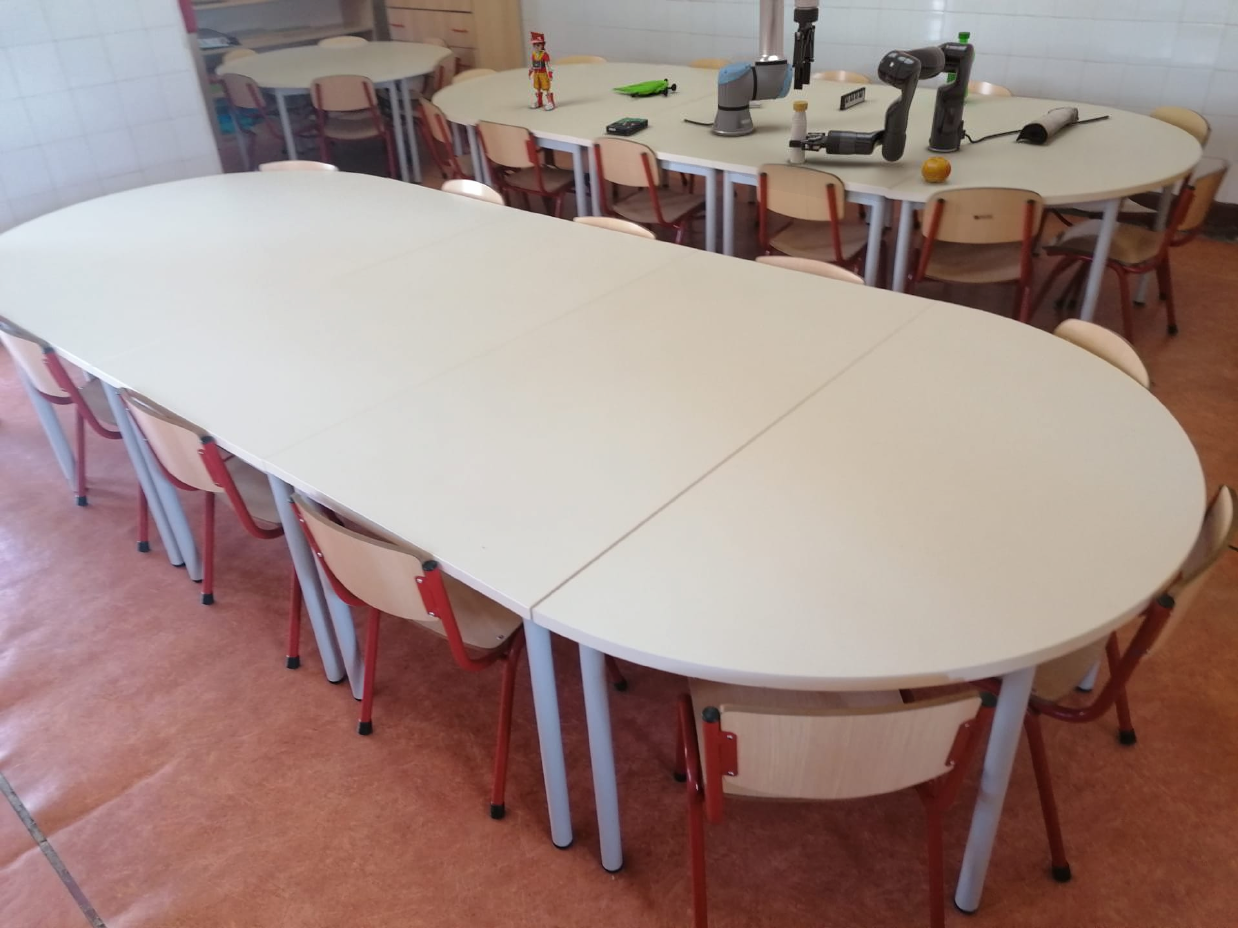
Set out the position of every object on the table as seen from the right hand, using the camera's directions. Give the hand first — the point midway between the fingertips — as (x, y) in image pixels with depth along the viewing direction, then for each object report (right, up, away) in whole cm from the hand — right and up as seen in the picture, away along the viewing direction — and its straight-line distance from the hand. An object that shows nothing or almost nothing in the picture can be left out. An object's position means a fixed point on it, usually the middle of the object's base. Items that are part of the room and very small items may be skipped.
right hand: (791, 141), depth 299 cm
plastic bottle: (+75, +36, +56) cm, 100 cm away
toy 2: (-48, +57, +98) cm, 123 cm away
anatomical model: (-5, +40, +70) cm, 81 cm away
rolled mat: (+92, +8, +14) cm, 94 cm away
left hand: (+1, +14, -10) cm, 17 cm away
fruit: (+40, -20, -21) cm, 50 cm away
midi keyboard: (+36, +36, +60) cm, 79 cm away
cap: (+2, +9, -7) cm, 12 cm away
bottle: (+3, -6, +3) cm, 7 cm away
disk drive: (-54, +21, +47) cm, 75 cm away
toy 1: (-90, +45, +84) cm, 131 cm away
